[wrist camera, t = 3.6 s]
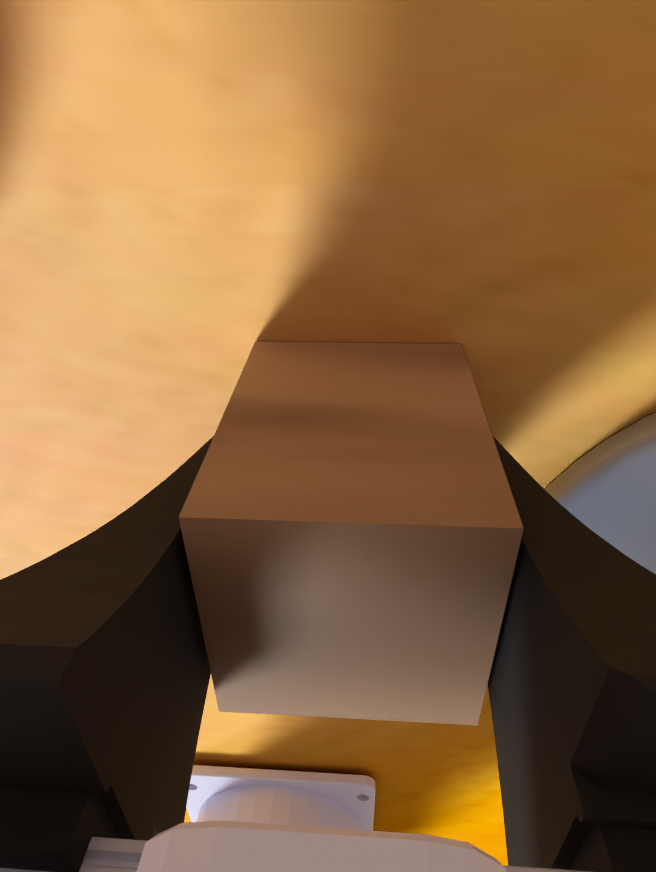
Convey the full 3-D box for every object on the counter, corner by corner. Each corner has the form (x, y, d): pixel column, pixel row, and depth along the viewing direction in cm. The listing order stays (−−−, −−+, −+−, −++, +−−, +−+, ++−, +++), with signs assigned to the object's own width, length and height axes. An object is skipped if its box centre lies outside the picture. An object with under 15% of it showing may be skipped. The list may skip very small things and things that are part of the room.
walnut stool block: (441, 505, 15) (477, 725, 10) (269, 499, 15) (219, 711, 10) (461, 344, 12) (523, 528, 7) (255, 341, 13) (178, 517, 8)
